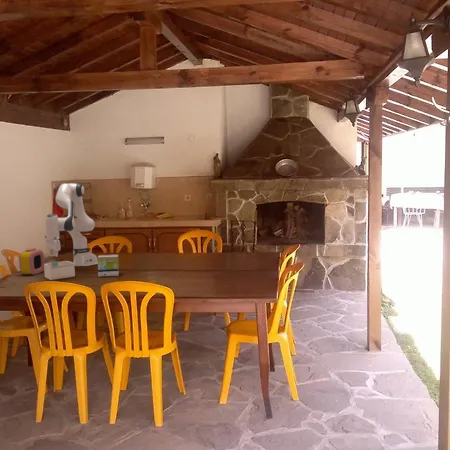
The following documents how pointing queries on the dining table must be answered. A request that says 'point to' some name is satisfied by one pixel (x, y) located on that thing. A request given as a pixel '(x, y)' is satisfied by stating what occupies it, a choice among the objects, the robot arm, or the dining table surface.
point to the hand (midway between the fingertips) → (54, 255)
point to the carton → (48, 272)
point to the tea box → (108, 265)
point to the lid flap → (61, 270)
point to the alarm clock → (31, 261)
